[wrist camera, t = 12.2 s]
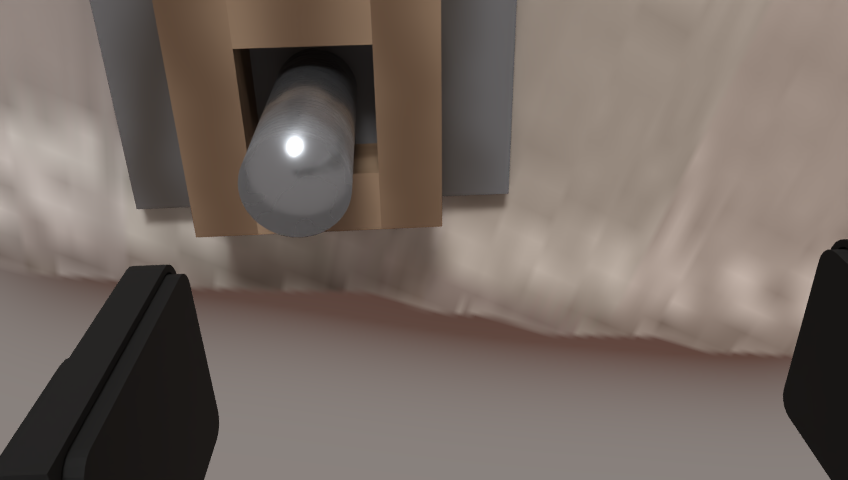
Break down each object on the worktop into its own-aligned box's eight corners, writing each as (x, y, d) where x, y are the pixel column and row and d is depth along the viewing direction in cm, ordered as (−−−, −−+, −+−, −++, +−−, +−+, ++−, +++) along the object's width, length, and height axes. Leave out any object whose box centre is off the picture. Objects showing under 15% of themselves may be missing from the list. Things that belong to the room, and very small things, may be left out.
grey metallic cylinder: (354, 47, 35) (348, 131, 25) (359, 125, 37) (355, 234, 26) (272, 50, 35) (230, 135, 24) (280, 128, 37) (245, 239, 26)
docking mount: (514, -52, 34) (536, -39, 30) (505, 186, 40) (521, 226, 36) (88, -41, 33) (45, -26, 29) (141, 201, 39) (113, 244, 35)
